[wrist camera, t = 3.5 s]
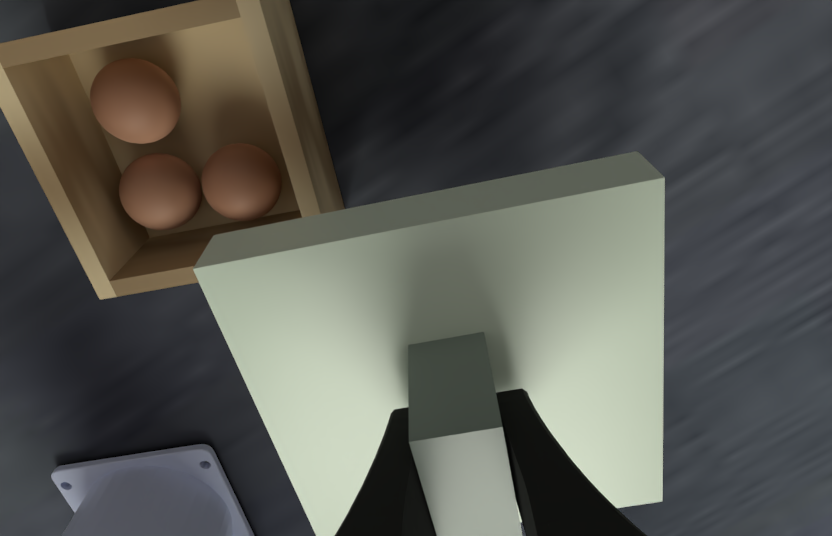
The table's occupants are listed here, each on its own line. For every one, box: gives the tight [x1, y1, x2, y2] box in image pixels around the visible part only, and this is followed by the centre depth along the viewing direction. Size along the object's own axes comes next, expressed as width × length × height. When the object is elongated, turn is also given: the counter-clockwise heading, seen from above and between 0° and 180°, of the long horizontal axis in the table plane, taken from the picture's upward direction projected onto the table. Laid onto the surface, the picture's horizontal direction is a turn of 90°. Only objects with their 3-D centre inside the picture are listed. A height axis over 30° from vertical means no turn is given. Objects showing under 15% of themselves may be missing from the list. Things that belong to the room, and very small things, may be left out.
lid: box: [193, 151, 665, 536], centre depth 14 cm, size 10×10×5 cm
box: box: [0, 0, 345, 300], centre depth 19 cm, size 8×8×4 cm
